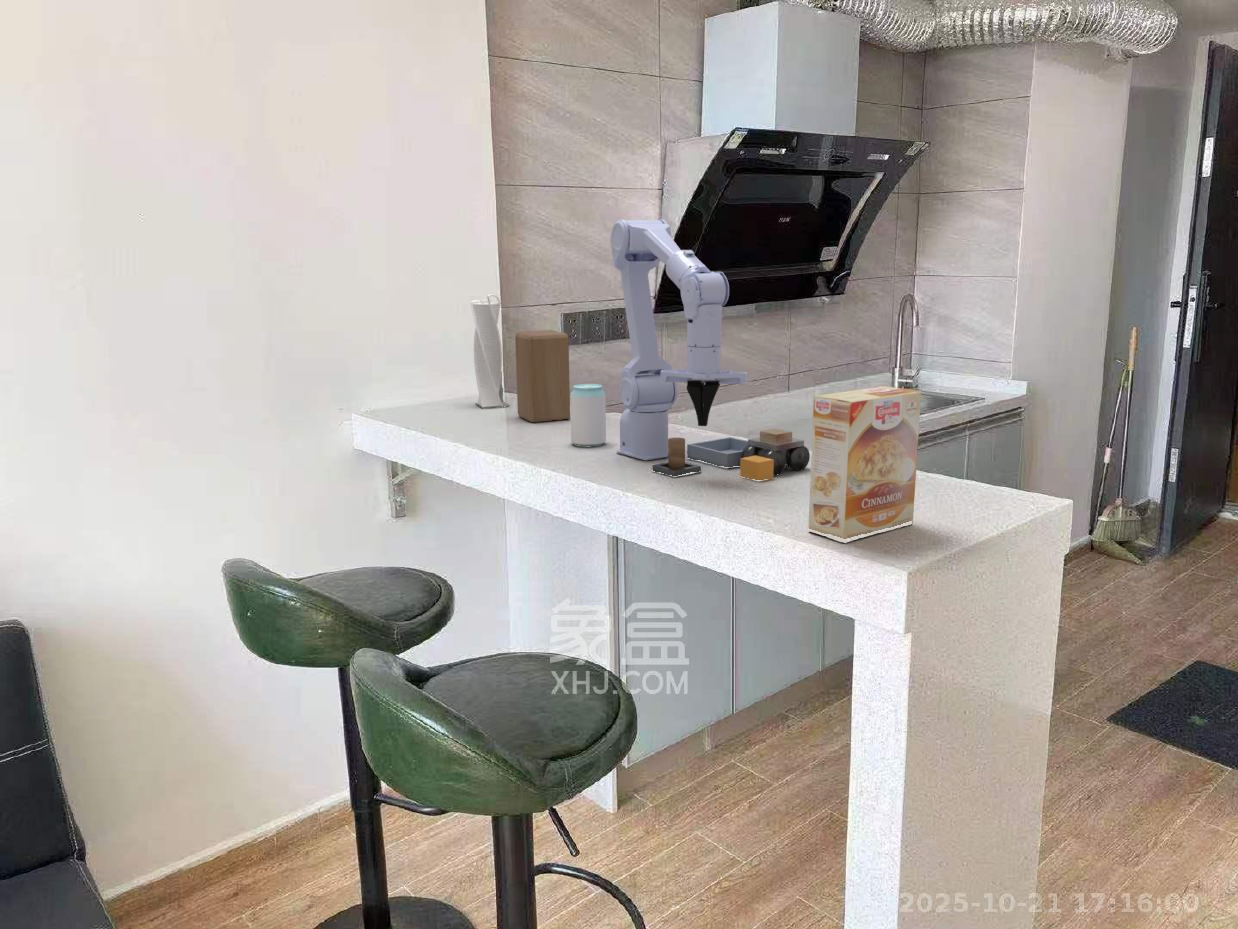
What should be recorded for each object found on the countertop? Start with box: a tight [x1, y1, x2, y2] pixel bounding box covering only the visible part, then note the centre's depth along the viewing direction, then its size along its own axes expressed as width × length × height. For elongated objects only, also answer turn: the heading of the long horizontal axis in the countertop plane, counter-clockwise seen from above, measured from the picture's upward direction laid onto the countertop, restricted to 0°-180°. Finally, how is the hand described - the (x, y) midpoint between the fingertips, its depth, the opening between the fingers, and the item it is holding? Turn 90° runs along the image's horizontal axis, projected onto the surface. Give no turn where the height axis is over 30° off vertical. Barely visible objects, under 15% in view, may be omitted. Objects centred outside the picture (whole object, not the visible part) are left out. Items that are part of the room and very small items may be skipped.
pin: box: [667, 437, 686, 470], centre depth 172 cm, size 3×3×6 cm
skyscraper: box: [470, 293, 511, 409], centre depth 241 cm, size 8×8×28 cm
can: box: [570, 383, 607, 447], centre depth 196 cm, size 7×7×12 cm
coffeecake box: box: [807, 385, 922, 539], centre depth 136 cm, size 15×7×20 cm, turn 126°
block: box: [514, 329, 571, 423], centre depth 224 cm, size 10×10×20 cm
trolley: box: [741, 428, 811, 476], centre depth 173 cm, size 7×10×7 cm
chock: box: [739, 455, 774, 480], centre depth 167 cm, size 4×4×4 cm
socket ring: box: [651, 461, 702, 476], centre depth 172 cm, size 6×6×1 cm
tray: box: [686, 436, 766, 467], centre depth 181 cm, size 11×11×3 cm
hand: (702, 425), depth 167 cm, fingers closed
